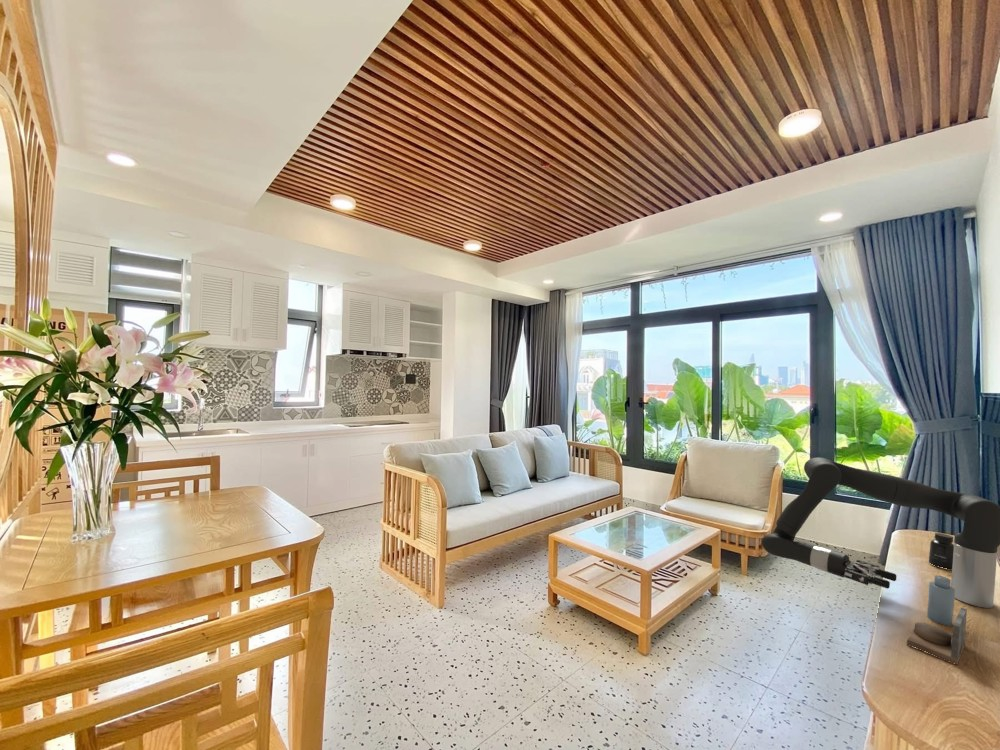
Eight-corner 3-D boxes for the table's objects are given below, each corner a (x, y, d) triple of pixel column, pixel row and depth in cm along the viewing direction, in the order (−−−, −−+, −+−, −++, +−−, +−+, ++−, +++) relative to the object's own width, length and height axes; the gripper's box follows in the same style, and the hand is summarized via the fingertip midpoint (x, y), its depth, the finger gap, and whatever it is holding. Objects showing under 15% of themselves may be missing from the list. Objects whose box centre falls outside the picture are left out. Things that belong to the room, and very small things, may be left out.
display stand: (917, 627, 120) (920, 594, 120) (964, 644, 113) (967, 609, 113) (906, 645, 112) (909, 609, 111) (957, 665, 104) (959, 627, 104)
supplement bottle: (934, 568, 160) (937, 536, 160) (924, 560, 166) (926, 530, 166) (959, 572, 157) (961, 540, 157) (947, 564, 164) (950, 533, 164)
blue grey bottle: (928, 613, 128) (931, 572, 128) (953, 621, 124) (956, 579, 124) (925, 618, 125) (928, 576, 125) (951, 627, 121) (954, 584, 120)
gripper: (823, 554, 141) (888, 575, 128) (836, 545, 150) (899, 564, 137) (821, 577, 141) (886, 600, 128) (835, 566, 150) (897, 587, 137)
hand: (892, 581), depth 133 cm, fingers open, 8 cm apart
